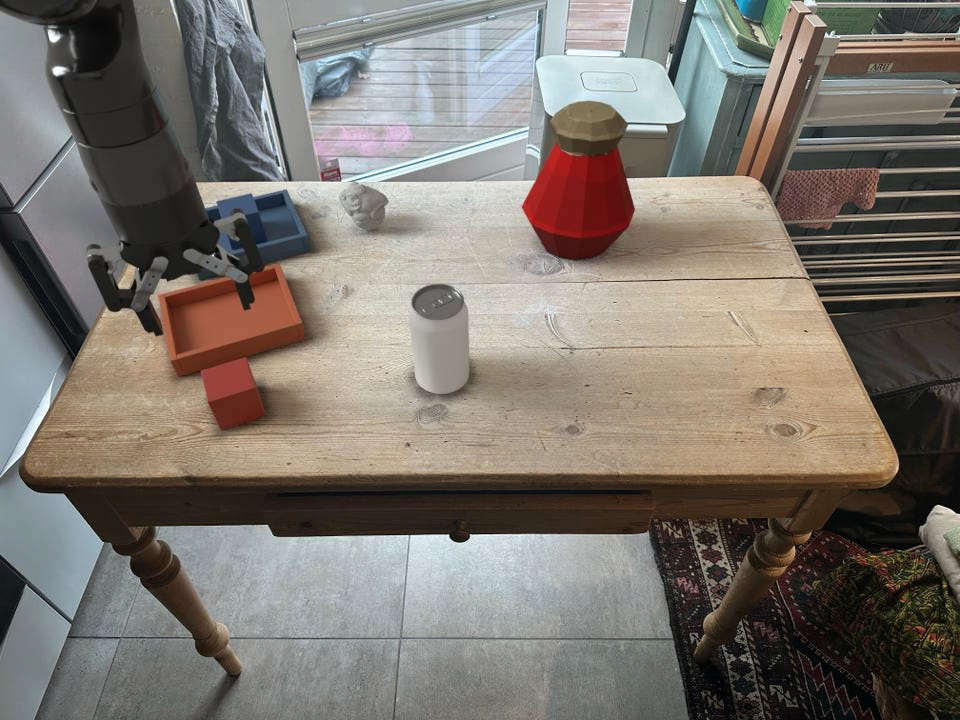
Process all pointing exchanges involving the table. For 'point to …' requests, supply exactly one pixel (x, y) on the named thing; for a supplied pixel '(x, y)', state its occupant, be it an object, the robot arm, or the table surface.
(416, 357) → the can
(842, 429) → the table surface
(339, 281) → the table surface
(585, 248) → the bottle
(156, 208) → the robot arm
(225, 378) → the red block
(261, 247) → the blue tray
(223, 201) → the blue block
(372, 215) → the frog figurine
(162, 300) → the orange tray
